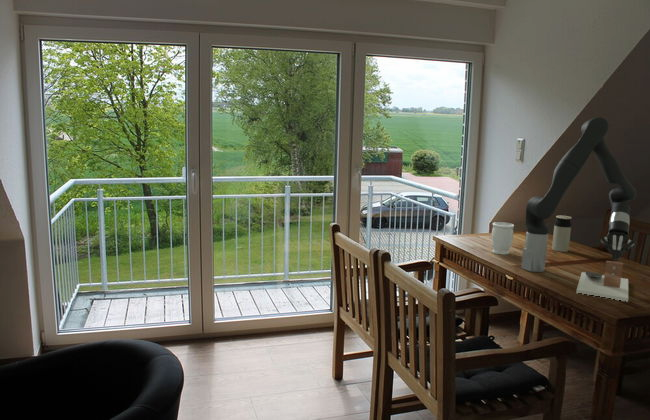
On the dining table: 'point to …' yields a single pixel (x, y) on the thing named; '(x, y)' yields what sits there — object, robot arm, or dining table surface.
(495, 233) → the jar
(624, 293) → the board
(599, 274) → the tile one dot
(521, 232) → the dining table surface
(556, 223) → the travel mug
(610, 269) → the tile two dots
